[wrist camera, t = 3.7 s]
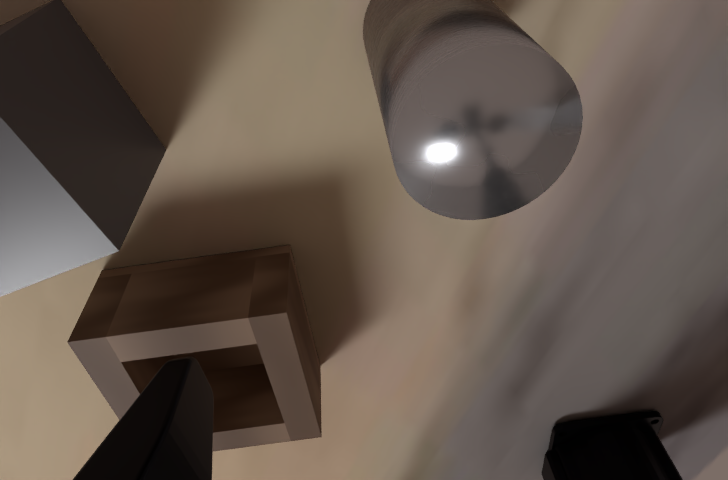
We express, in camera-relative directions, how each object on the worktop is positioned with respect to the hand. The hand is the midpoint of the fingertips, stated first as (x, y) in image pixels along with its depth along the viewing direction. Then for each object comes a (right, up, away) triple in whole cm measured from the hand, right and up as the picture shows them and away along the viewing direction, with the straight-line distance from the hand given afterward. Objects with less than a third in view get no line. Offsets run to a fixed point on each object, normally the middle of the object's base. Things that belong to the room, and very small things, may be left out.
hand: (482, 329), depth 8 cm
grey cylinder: (0, +8, +9) cm, 12 cm away
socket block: (-8, -3, +17) cm, 19 cm away
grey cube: (-13, +6, +10) cm, 17 cm away
